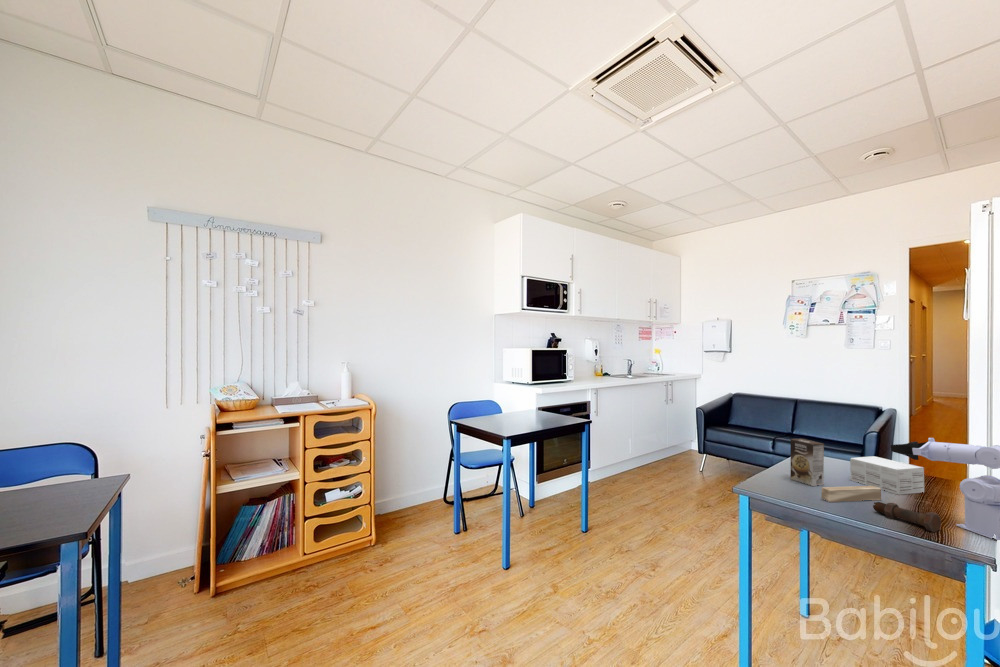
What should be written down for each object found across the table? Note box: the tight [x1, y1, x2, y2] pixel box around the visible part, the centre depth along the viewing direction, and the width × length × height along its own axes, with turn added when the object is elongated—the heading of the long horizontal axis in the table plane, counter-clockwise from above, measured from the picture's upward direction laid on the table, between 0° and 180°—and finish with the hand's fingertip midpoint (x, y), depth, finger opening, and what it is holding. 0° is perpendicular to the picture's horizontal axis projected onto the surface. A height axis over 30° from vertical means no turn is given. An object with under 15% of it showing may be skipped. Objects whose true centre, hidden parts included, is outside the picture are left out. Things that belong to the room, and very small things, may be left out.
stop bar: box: [821, 485, 882, 503], centre depth 147 cm, size 3×20×4 cm, turn 97°
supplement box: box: [849, 455, 925, 495], centre depth 162 cm, size 17×13×9 cm
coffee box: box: [790, 438, 825, 487], centre depth 166 cm, size 9×6×16 cm
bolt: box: [872, 501, 942, 533], centre depth 130 cm, size 6×5×15 cm
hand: (898, 447), depth 142 cm, fingers open, 7 cm apart
